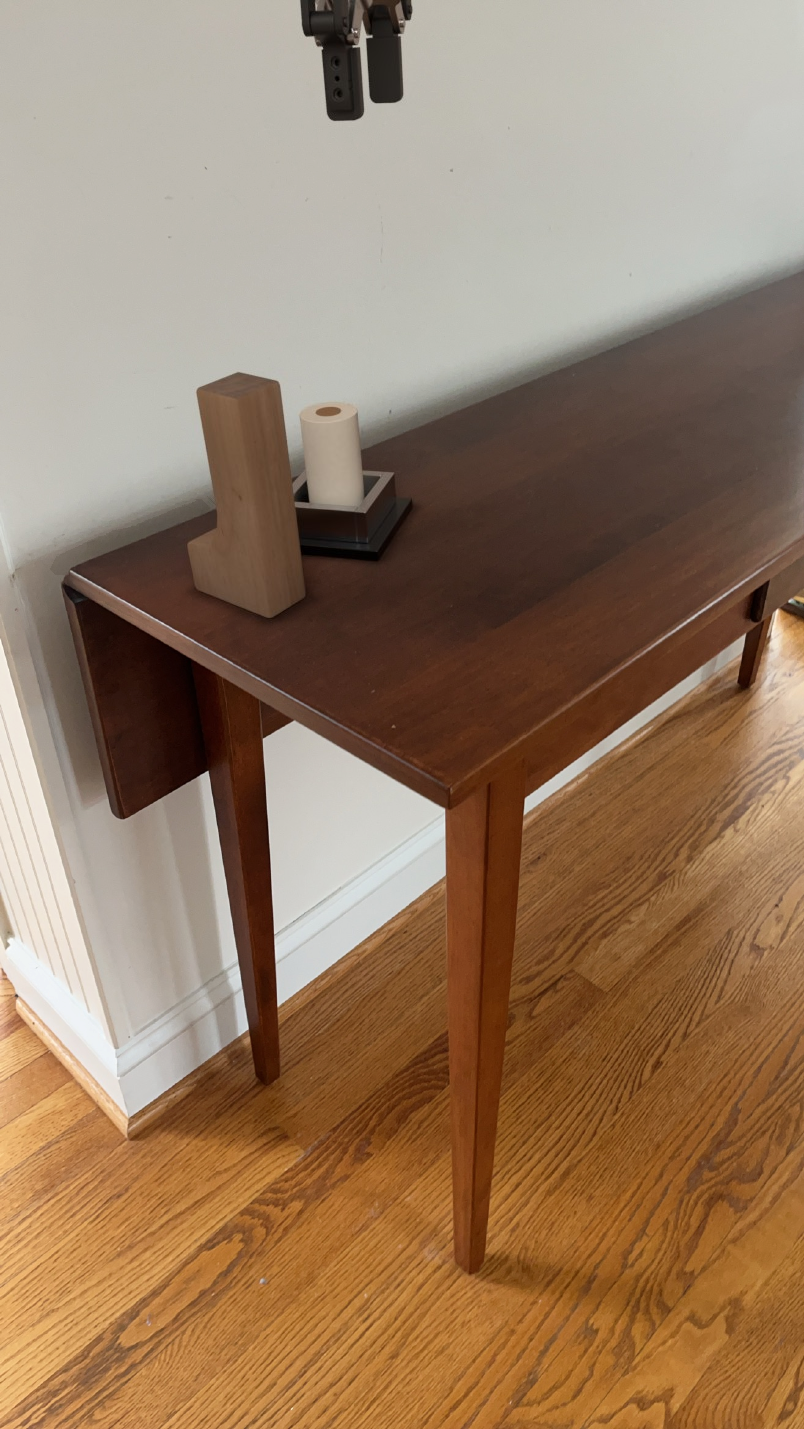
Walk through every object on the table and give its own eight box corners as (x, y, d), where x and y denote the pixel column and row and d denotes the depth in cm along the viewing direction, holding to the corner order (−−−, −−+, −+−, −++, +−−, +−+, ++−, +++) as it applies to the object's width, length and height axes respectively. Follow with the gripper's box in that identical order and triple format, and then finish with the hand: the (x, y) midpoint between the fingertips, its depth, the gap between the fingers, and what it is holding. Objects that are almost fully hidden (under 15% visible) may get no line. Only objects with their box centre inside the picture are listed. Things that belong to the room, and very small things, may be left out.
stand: (261, 550, 92) (254, 509, 89) (304, 499, 100) (300, 460, 98) (378, 561, 89) (374, 519, 86) (412, 507, 97) (410, 467, 95)
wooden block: (193, 590, 86) (151, 377, 76) (232, 569, 89) (197, 360, 78) (270, 621, 81) (236, 398, 71) (308, 597, 84) (281, 379, 74)
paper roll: (303, 528, 92) (290, 420, 86) (322, 505, 96) (311, 400, 90) (356, 532, 91) (346, 423, 85) (373, 509, 95) (364, 402, 89)
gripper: (325, -206, 63) (348, 100, 72) (230, -237, 52) (271, 128, 62) (443, -220, 61) (450, 96, 70) (370, -255, 50) (390, 125, 60)
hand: (367, 111), depth 66 cm, fingers open, 8 cm apart
